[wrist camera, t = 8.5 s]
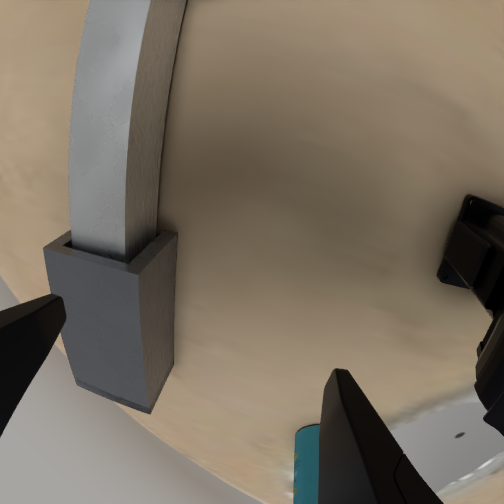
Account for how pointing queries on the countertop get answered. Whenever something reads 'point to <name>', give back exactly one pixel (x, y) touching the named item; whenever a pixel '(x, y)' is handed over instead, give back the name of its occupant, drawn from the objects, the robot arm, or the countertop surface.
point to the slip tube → (120, 124)
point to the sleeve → (117, 318)
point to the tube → (306, 465)
